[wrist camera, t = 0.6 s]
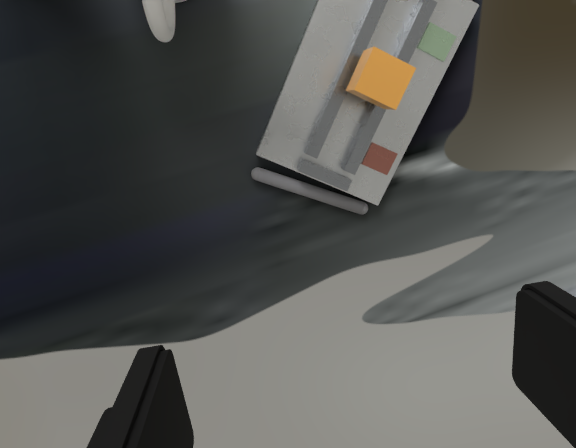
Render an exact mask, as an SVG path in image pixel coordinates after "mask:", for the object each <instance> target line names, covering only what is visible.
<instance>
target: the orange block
mask: <svg viewBox="0 0 576 448" xmlns="http://www.w3.org/2000/svg"><path fill="white" fill-rule="evenodd" d="M415 70H416V68H415V67H413V66H411V65H409V64H407V63H406V62H404V61H402V60H400V59H398V58H396V57H394V56H392V55H390V54H388V53H386V52H384V51H382V50H380V49H378V48H376V47H371V48H369V49H366V50H364V51H363V53H362V55H361V57H360V59H359V62H358V64H357V66H356V68H355V71H354V73H353V75H352V77H351V80H350V82H349V84H348V86H347V89H346V91H347V92H349V93H351V94H354V95H356V96H358V97H360V98H362V99H364V100H366V101H368V102H370V103H372V104H374V105H376V106H379V107H381V108H383V109H388V110H396V109H397V107H398V105H399V103H400V101H401V99H402V97H403V95H404V93H405V90H406V88H407V86H408V84H409V82H410V80H411V78H412V76H413V74H414V72H415Z"/></svg>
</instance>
